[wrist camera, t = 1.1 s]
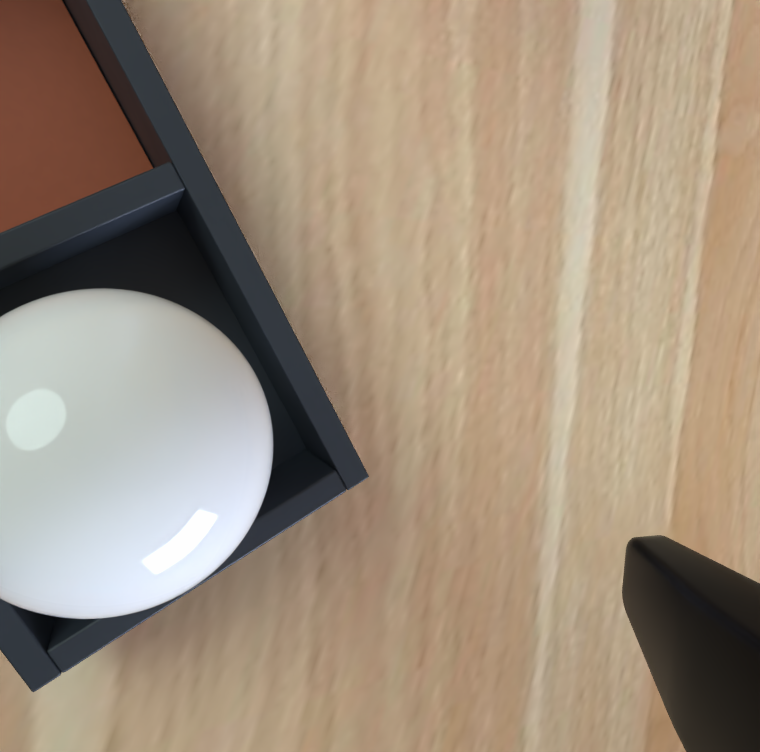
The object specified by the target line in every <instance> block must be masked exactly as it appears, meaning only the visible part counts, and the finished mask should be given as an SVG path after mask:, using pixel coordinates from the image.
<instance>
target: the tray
mask: <svg viewBox="0 0 760 752" xmlns="http://www.w3.org/2000/svg"><path fill="white" fill-rule="evenodd" d="M92 288H114V289H125V290H132V291H138V292H143V293H148V294H151V295H155V296H158V297H161V298H164V299H167V300H170V301H172V302H175V303H177V304H179V305H182V306H184V307H186V308H188V309H189V310H191V311H193V312H195V313H197V314H198V315H200V316H202V317H203V318H205V319H206V320H207V321H209V322H210V323H212V324H213V325H214V326H215V327H217V328H218V329H219V330H220V331H222V332H223V333H224V334H225V335H226V336H227V337H228V338H229V339H230V340H231V341H232V342H233V343H234V344H235V345H236V346H237V348H238V349H239V350H240V351H241V353H242V354H243V355H244V357H245V358H246V359H247V361H248V362H249V364H250V365H251V367H252V369H253V370H254V372H255V374H256V376H257V378H258V380H259V382H260V384H261V386H262V389H263V391H264V394H265V397H266V400H267V403H268V407H269V411H270V415H271V421H272V428H273V463H272V470H271V476H270V481H269V485H268V488H267V491H266V495H265V498H264V500H263V503H262V505H261V508H260V510H259V512H258V514H257V517H256V518H255V520H254V522H253V524H252V526H251V528H250V529H249V531H248V533H247V534H246V536H245V537H244V539H243V540H242V541H241V543H240V544H239V545H238V547H237V548H236V549H235V550H234V552H233V553H232V554H231V555H230V556H229V557H228V558H227V559H226V561H225V562H224V563H222V564H221V565H220V566H219V567H218V568H217V569H216V570H215V571H214V572H213V573H212V574H210V575H209V576H208V577H207V578H205V579H204V580H203V581H201V582H200V583H199V584H197V585H196V586H194V587H193V588H191V589H189V590H188V591H186V592H184V593H183V594H181V595H179V596H177V597H175V598H173V599H171V600H169V601H167V602H165V603H162V604H160V605H158V606H155V607H152V608H149V609H146V610H143V611H140V612H136V613H132V614H128V615H123V616H117V617H110V618H100V619H70V618H61V617H54V616H48V615H44V614H39V613H36V612H32V611H29V610H26V609H23V608H20V607H17V606H15V605H12V604H10V603H8V602H5V601H3V600H1V599H0V650H1V651H2V653H3V654H4V655H5V657H6V658H7V659H8V660H9V662H10V663H11V664H12V666H13V667H14V668H15V670H16V671H17V672H18V674H19V675H20V676H21V678H22V679H23V680H24V682H25V683H26V684H27V686H28V687H29V688H30V689H31V691H33V692H34V691H36V690H38V689H39V688H41V687H43V686H44V685H46V684H47V683H49V682H50V681H52V680H53V679H55V678H57V677H58V676H60V674H61V672H66V671H67V670H69V669H70V668H72V667H74V666H75V665H77V664H78V663H80V662H81V661H83V660H84V659H86V658H88V657H89V656H91V655H92V654H94V653H95V652H97V651H98V650H100V649H102V648H103V647H105V646H106V645H108V644H109V643H111V642H112V641H114V640H115V639H117V638H119V637H120V636H122V635H123V634H125V633H126V632H128V631H129V630H131V629H133V628H134V627H136V626H137V625H139V624H140V623H142V622H143V621H145V620H147V619H148V618H150V617H151V616H153V615H154V614H156V613H157V612H159V611H161V610H162V609H164V608H165V607H167V606H168V605H170V604H171V603H173V602H175V601H176V600H178V599H179V598H181V597H182V596H184V595H185V594H187V593H189V592H190V591H192V590H193V589H195V588H196V587H198V586H199V585H201V584H203V583H204V582H206V581H207V580H209V579H210V578H212V577H213V576H215V575H217V574H218V573H220V572H221V571H223V570H224V569H226V568H227V567H229V566H231V565H232V564H234V563H235V562H237V561H238V560H240V559H241V558H243V557H245V556H246V555H248V554H249V553H251V552H252V551H254V550H255V549H257V548H258V547H260V546H262V545H263V544H265V543H266V542H268V541H269V540H271V539H272V538H274V537H276V536H277V535H279V534H280V533H282V532H283V531H285V530H286V529H288V528H290V527H291V526H293V525H294V524H296V523H297V522H299V521H300V520H302V519H304V518H305V517H307V516H308V515H310V514H311V513H313V512H314V511H316V510H318V509H319V508H321V507H322V506H324V505H325V504H327V503H328V502H330V501H332V500H333V499H335V498H336V497H338V496H339V495H341V494H342V493H344V492H345V491H346V489H347V490H349V489H351V488H352V487H354V486H356V485H357V484H359V483H360V482H362V481H363V480H365V479H366V478H368V477H369V476H368V474H367V472H366V470H365V468H364V466H363V464H362V462H361V460H360V458H359V456H358V454H357V452H356V450H355V449H354V447H353V445H352V443H351V441H350V439H349V437H348V435H347V433H346V431H345V429H344V427H343V426H342V424H341V422H340V420H339V418H338V416H337V414H336V412H335V410H334V408H333V406H332V404H331V402H330V401H329V399H328V397H327V395H326V393H325V391H324V389H323V387H322V385H321V383H320V381H319V379H318V378H317V376H316V374H315V372H314V370H313V368H312V366H311V364H310V362H309V360H308V358H307V356H306V354H305V353H304V351H303V349H302V347H301V345H300V343H299V341H298V339H297V337H296V335H295V333H294V331H293V329H292V328H291V326H290V324H289V322H288V320H287V318H286V316H285V314H284V312H283V310H282V308H281V306H280V305H279V303H278V301H277V299H276V297H275V295H274V293H273V291H272V289H271V287H270V285H269V283H268V281H267V280H266V278H265V276H264V274H263V272H262V270H261V268H260V266H259V264H258V262H257V260H256V258H255V257H254V255H253V253H252V251H251V249H250V247H249V245H248V243H247V241H246V239H245V237H244V235H243V233H242V232H241V230H240V228H239V226H238V224H237V222H236V220H235V218H234V216H233V214H232V212H231V210H230V209H229V207H228V205H227V203H226V201H225V199H224V197H223V195H222V193H221V191H220V189H219V187H218V185H217V184H216V182H215V180H214V178H213V176H212V174H211V172H210V170H209V168H208V166H207V164H206V162H205V160H204V159H203V157H202V155H201V153H200V151H199V149H198V147H197V145H196V143H195V141H194V139H193V137H192V136H191V134H190V132H189V130H188V128H187V126H186V124H185V122H184V120H183V118H182V116H181V114H180V112H179V111H178V109H177V107H176V105H175V103H174V101H173V99H172V97H171V95H170V93H169V91H168V89H167V88H166V86H165V84H164V82H163V80H162V78H161V76H160V74H159V72H158V70H157V68H156V66H155V64H154V63H153V61H152V59H151V57H150V55H149V53H148V51H147V49H146V47H145V45H144V43H143V41H142V40H141V38H140V36H139V34H138V32H137V30H136V28H135V26H134V24H133V22H132V20H131V18H130V16H129V15H128V13H127V11H126V9H125V7H124V5H123V3H122V1H121V0H0V316H2V315H4V314H6V313H7V312H9V311H11V310H13V309H15V308H17V307H19V306H21V305H23V304H26V303H28V302H31V301H33V300H36V299H39V298H42V297H46V296H49V295H53V294H57V293H61V292H66V291H72V290H80V289H92Z"/></svg>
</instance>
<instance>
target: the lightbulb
mask: <svg viewBox="0 0 760 752" xmlns="http://www.w3.org/2000/svg"><path fill="white" fill-rule="evenodd" d="M272 463H273V428H272V421H271V415H270V411H269V407H268V403H267V400H266V397H265V394H264V391H263V389H262V386H261V384H260V382H259V380H258V378H257V376H256V374H255V372H254V370H253V369H252V367H251V365H250V364H249V362H248V361H247V359H246V358H245V357H244V355H243V354H242V353H241V351H240V350H239V349H238V348H237V346H236V345H235V344H234V343H233V342H232V341H231V340H230V339H229V338H228V337H227V336H226V335H225V334H224V333H223V332H222V331H220V330H219V329H218V328H217V327H215V326H214V325H213V324H212V323H210V322H209V321H207V320H206V319H205V318H203V317H202V316H200V315H198V314H197V313H195V312H193V311H191V310H189V309H188V308H186V307H184V306H182V305H179V304H177V303H175V302H172V301H170V300H167V299H164V298H161V297H158V296H155V295H151V294H148V293H143V292H138V291H132V290H125V289H114V288H92V289H80V290H72V291H66V292H61V293H57V294H53V295H49V296H46V297H42V298H39V299H36V300H33V301H31V302H28V303H26V304H23V305H21V306H19V307H17V308H15V309H13V310H11V311H9V312H7V313H6V314H4V315H2V316H0V599H1V600H3V601H5V602H8V603H10V604H12V605H15V606H17V607H20V608H23V609H26V610H29V611H32V612H36V613H39V614H44V615H48V616H54V617H61V618H70V619H100V618H110V617H117V616H123V615H128V614H132V613H136V612H140V611H143V610H146V609H149V608H152V607H155V606H158V605H160V604H162V603H165V602H167V601H169V600H171V599H173V598H175V597H177V596H179V595H181V594H183V593H184V592H186V591H188V590H189V589H191V588H193V587H194V586H196V585H197V584H199V583H200V582H201V581H203V580H204V579H205V578H207V577H208V576H209V575H210V574H212V573H213V572H214V571H215V570H216V569H217V568H218V567H219V566H220V565H221V564H222V563H224V562H225V561H226V559H227V558H228V557H229V556H230V555H231V554H232V553H233V552H234V550H235V549H236V548H237V547H238V545H239V544H240V543H241V541H242V540H243V539H244V537H245V536H246V534H247V533H248V531H249V529H250V528H251V526H252V524H253V522H254V520H255V518H256V517H257V514H258V512H259V510H260V508H261V505H262V503H263V500H264V498H265V495H266V491H267V488H268V485H269V481H270V476H271V470H272Z"/></svg>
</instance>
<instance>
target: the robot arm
mask: <svg viewBox="0 0 760 752" xmlns="http://www.w3.org/2000/svg"><path fill="white" fill-rule="evenodd" d="M622 597H623V603H624V607H625V610H626V613H627V616H628V618H629V620H630V623H631V625H632V628H633V630H634V633H635V635H636V637H637V640H638V642H639V645H640V647H641V650H642V652H643V654H644V657H645V659H646V662H647V664H648V667H649V669H650V671H651V674H652V676H653V679H654V681H655V684H656V686H657V688H658V691H659V693H660V696H661V698H662V701H663V703H664V705H665V708H666V710H667V712H668V715H669V717H670V719H671V721H672V724H673V726H674V728H675V730H676V732H677V734H678V736H679V738H680V740H681V742H682V744H683V746H684V748H685V750H686V752H760V584H759V583H757V582H755V581H753V580H751V579H749V578H747V577H745V576H743V575H741V574H739V573H737V572H735V571H733V570H731V569H729V568H727V567H725V566H723V565H721V564H719V563H717V562H715V561H713V560H711V559H709V558H707V557H705V556H703V555H701V554H699V553H697V552H695V551H693V550H691V549H689V548H687V547H685V546H683V545H681V544H679V543H677V542H675V541H673V540H671V539H669V538H667V537H665V536H661V535H655V536H645V537H634V538H632V539H631V540H630V541H629V542H628V544H627V547H626V555H625V566H624V577H623V587H622Z"/></svg>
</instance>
